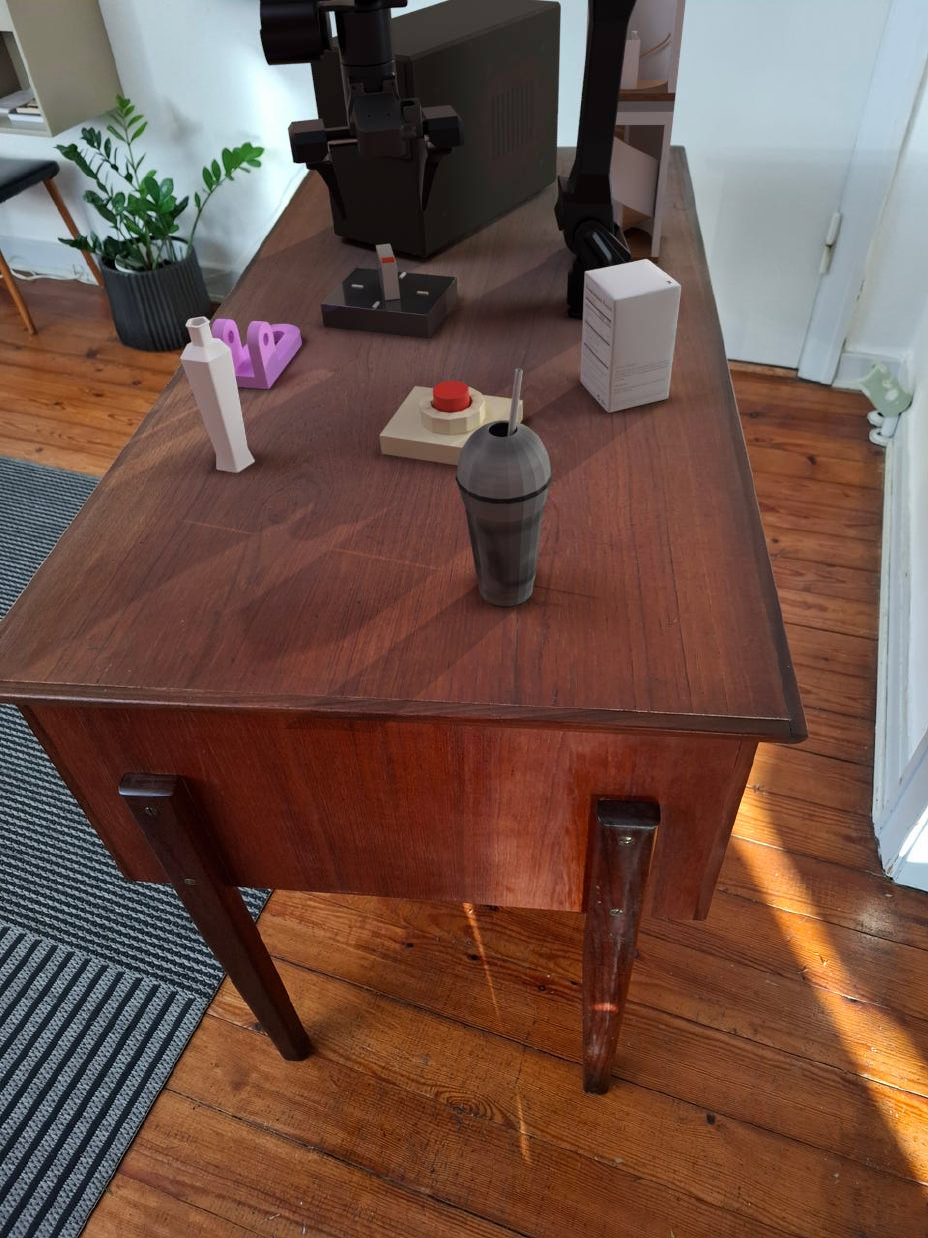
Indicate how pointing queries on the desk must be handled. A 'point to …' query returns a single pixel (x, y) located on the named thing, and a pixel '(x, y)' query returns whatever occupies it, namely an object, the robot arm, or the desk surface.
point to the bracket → (259, 350)
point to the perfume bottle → (216, 395)
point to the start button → (451, 396)
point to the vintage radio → (485, 101)
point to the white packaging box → (628, 334)
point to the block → (440, 425)
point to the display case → (645, 123)
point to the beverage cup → (504, 503)
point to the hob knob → (387, 271)
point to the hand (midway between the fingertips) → (384, 214)
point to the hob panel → (390, 303)
